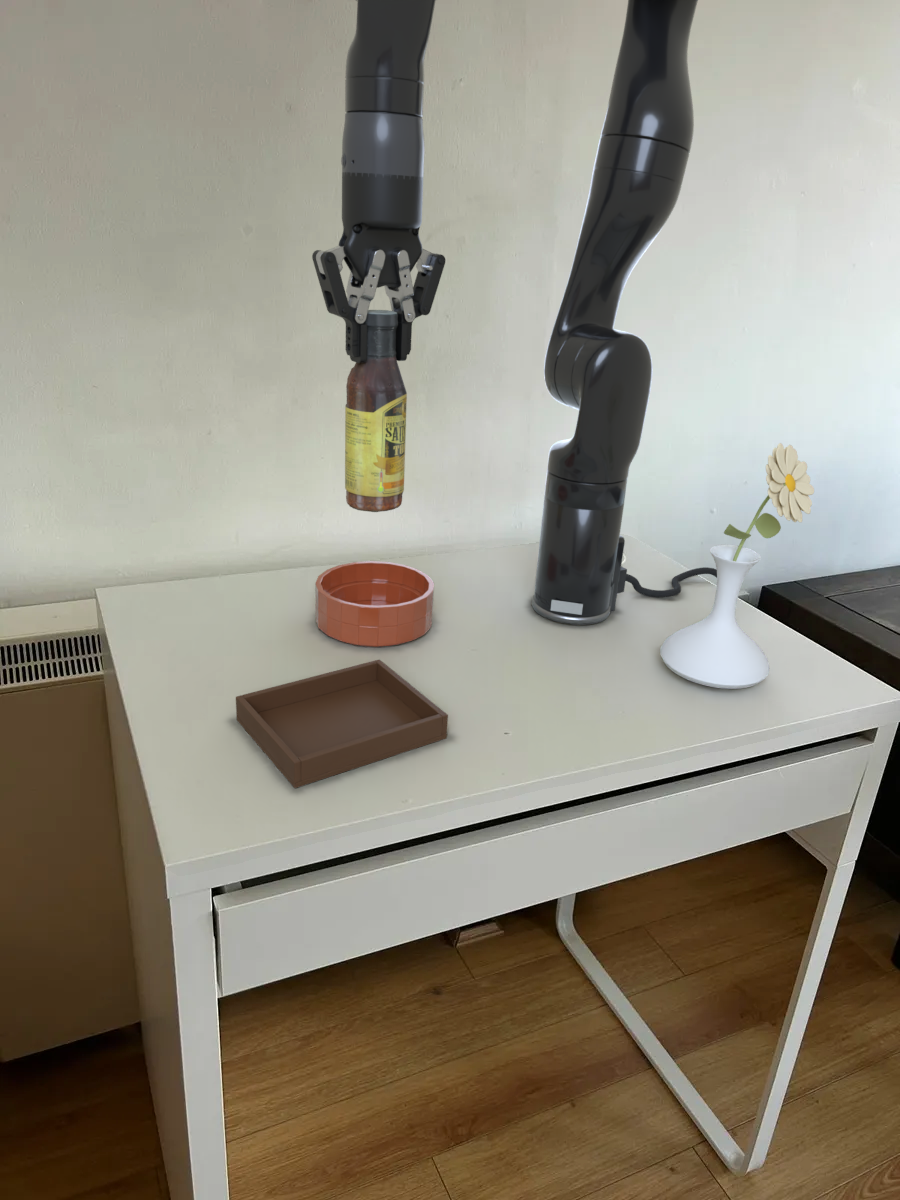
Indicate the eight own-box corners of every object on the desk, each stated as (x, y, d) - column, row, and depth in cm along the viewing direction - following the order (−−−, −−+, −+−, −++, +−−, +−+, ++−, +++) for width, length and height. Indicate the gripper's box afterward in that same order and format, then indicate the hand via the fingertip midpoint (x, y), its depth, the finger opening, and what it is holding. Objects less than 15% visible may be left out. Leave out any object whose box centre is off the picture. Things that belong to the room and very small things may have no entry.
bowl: (393, 591, 112) (394, 554, 110) (454, 633, 102) (456, 593, 100) (296, 612, 105) (295, 573, 103) (351, 659, 95) (352, 616, 93)
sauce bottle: (395, 517, 93) (399, 317, 85) (337, 511, 94) (335, 312, 86) (410, 499, 99) (415, 309, 90) (355, 493, 100) (356, 305, 91)
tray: (378, 680, 91) (379, 658, 90) (446, 738, 82) (448, 714, 81) (236, 719, 83) (235, 696, 82) (294, 788, 74) (294, 763, 73)
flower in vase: (699, 706, 90) (747, 463, 80) (637, 655, 100) (673, 432, 89) (802, 688, 95) (859, 457, 85) (733, 641, 104) (778, 428, 94)
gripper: (333, 166, 76) (332, 371, 83) (469, 176, 84) (458, 363, 91) (294, 165, 82) (297, 357, 89) (425, 175, 90) (418, 351, 97)
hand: (378, 359), depth 90 cm, fingers closed on sauce bottle, 4 cm apart
